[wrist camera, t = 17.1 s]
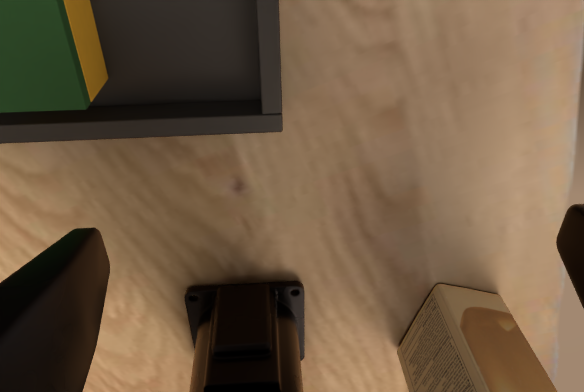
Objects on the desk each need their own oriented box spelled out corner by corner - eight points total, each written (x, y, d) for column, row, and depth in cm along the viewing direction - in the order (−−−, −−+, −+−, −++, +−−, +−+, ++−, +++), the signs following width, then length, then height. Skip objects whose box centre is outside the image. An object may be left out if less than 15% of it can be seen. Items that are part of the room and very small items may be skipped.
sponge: (66, -100, 15) (30, -94, 13) (109, 78, 19) (86, 109, 16) (-61, -98, 15) (-122, -92, 13) (5, 82, 19) (-33, 114, 16)
